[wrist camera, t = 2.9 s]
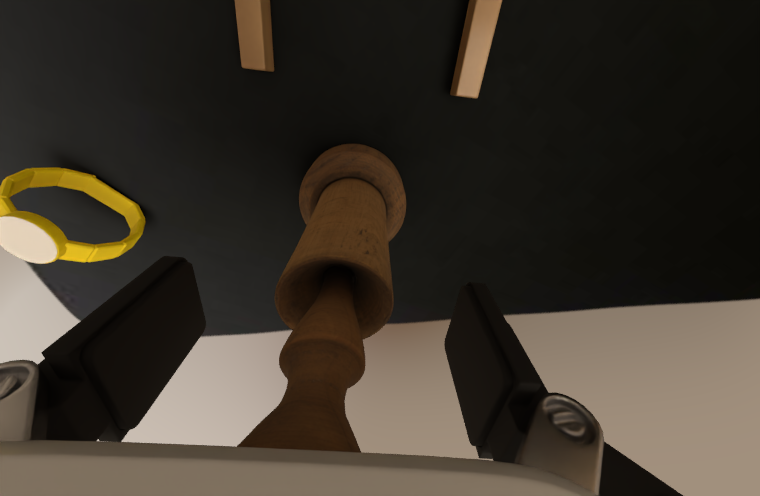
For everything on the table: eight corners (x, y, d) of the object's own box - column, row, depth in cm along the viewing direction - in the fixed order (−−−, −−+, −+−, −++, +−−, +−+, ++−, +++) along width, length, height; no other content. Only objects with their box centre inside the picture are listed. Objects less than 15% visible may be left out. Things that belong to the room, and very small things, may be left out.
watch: (59, 178, 19) (-63, 215, 13) (75, 148, 18) (-49, 176, 13) (149, 238, 21) (74, 290, 16) (168, 214, 20) (94, 261, 15)
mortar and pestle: (424, 198, 19) (612, 670, 4) (355, 253, 22) (296, 700, 6) (355, 119, 17) (93, 536, 1) (285, 190, 19) (-130, 670, 3)
